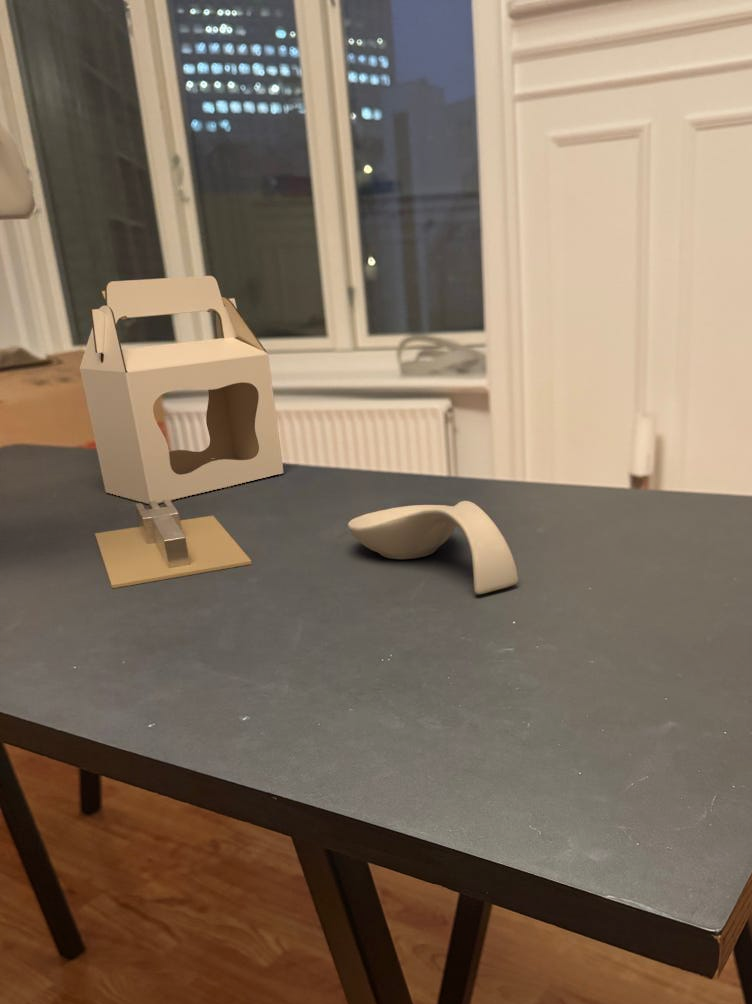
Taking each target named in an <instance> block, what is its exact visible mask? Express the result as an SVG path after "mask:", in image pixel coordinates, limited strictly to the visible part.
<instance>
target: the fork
mask: <svg viewBox="0 0 752 1004" xmlns="http://www.w3.org/2000/svg"><path fill="white" fill-rule="evenodd" d="M162 504H163V506H161V507H160V505H159V504H157V502H156V501H151V502H149V504H148V506H149V509H146V508H145V507H144V503H141V502H137V503H135V504H134V506H135V512H136V515H137V521H138V525H139V526H138V527H140V529H141V531H142V533H143V535H144V537H145V540H146V542H147V543H148V544H149V543H155V542H156V544H157V546H158V548H159V550H160V552H161V553H162V555H163V557H164V559H165V561H166V563H167V565H168V567H169V568H172V567H178V566H184V565H189V564H190V560H189V554H188V549H187V543H186V538H185V536H184V535H183V533H182V528H181V522H180V520H181V517H180V513H179V511H178V510H177V509H176V507H175V505H174V504H173V502H172V501H170V500H169V499H165V500H163V503H162Z"/></svg>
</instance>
